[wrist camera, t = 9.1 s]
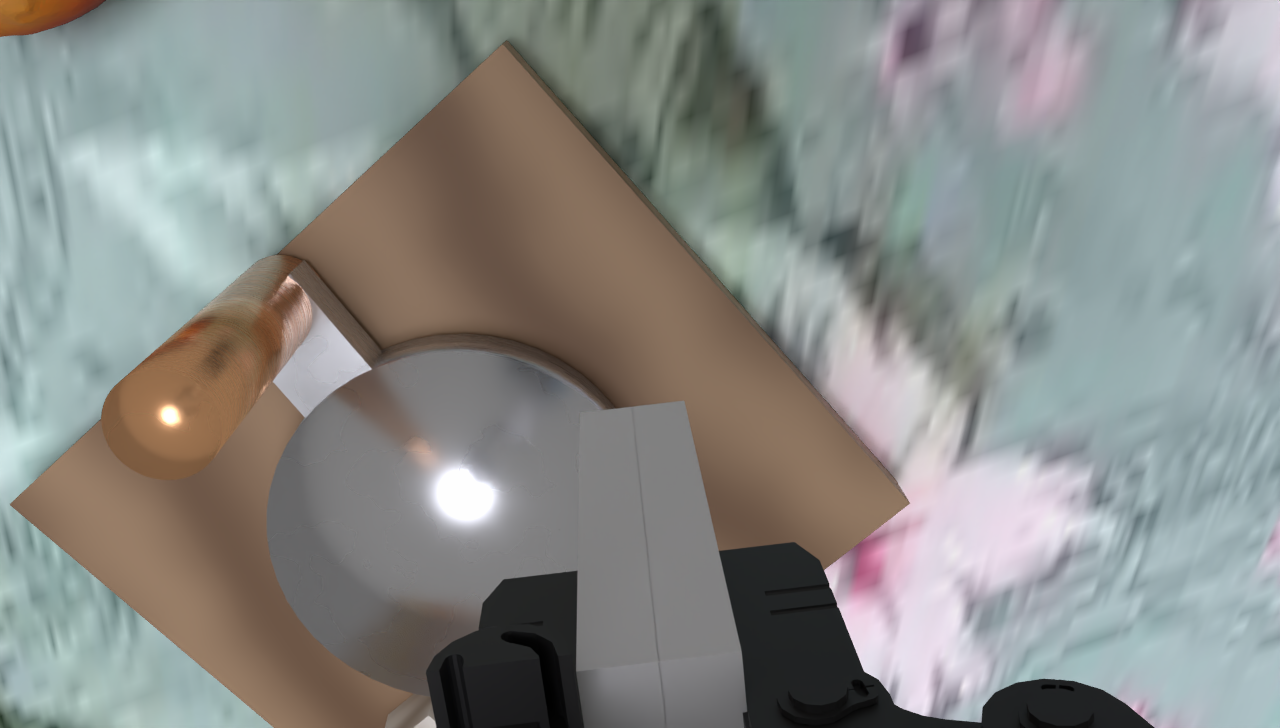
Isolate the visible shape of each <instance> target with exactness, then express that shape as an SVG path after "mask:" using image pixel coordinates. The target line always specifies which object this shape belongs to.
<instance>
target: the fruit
mask: <svg viewBox="0 0 1280 728" xmlns="http://www.w3.org/2000/svg"><path fill="white" fill-rule="evenodd" d="M104 1H106V0H0V37H2V36H12V35H29V34H34V33H38V32H41V31H44V30H48V29H51V28H54V27H57V26H60V25H63V24H66V23H68V22H70V21H72V20H75V19H77V18H79V17H81V16H83V15H84V14H86V13H88V12H89V11H91V10H93V9H95V8H96V7H98V6H99V5H101V4H102V3H103V2H104Z"/></svg>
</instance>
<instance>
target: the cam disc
mask: <svg viewBox="0 0 1280 728" xmlns="http://www.w3.org/2000/svg"><path fill="white" fill-rule="evenodd" d="M272 382H274V384H275V385H276V386H277V387H278V388H279V389H280V390H281V391H282V393H283V394H284V395H285V396H286V397H287V398H288V399H289V400H290V402H291V403H292V404H293V405H294V406H295V407H296V408H297V409H298V410H299V412H300V413H301V414H302V415H303V416H304V418H303V420H302V421H301V423H300V425H299V426H298V428H297V429H296V431H295V433H294V434H293V436H292V437H291V439H290V440H289V442H288V444H287V445H286V447H285V449H284V451H283V454H282V456H281V458H280V460H279V462H278V464H277V466H276V470H275V473H274V476H273V480H272V483H271V487H270V491H269V498H268V505H267V539H268V546H269V552H270V558H271V561H272V564H273V568H274V571H275V574H276V578H277V580H278V582H279V585H280V587H281V589H282V591H283V593H284V595H285V597H286V600H287V601H288V603H289V604H290V606H291V608H292V609H293V611H294V612H295V614H296V615H297V617H298V618H299V620H300V621H301V622H302V623H303V625H304V626H305V627H306V628H307V629H308V631H309V632H310V633H311V634H312V635H313V637H314V638H315V639H316V640H318V641H319V642H320V643H321V644H322V645H323V646H324V647H325V648H326V649H327V650H328V651H329V652H331V653H332V654H333V655H334V656H336V657H337V658H339V659H340V660H341V661H343V662H344V663H346V664H347V665H348V666H350V667H351V668H353V669H355V670H357V671H358V672H360V673H362V674H364V675H366V676H367V677H369V678H371V679H373V680H376V681H378V682H381V683H383V684H385V685H388V686H390V687H393V688H396V689H399V690H403V691H406V692H410V693H413V694H417V695H423V696H429V697H430V692H429V687H428V681H427V676H426V670H427V669H428V667H429V665H430V663H431V661H432V660H433V658H434V656H435V655H436V654H438V653H439V652H440V651H441V650H443V649H444V648H445V647H446V646H448V645H449V644H450V643H451V642H453V641H455V640H457V639H459V638H461V637H464V636H466V635H468V634H470V633H473V632H475V631H478V630H479V629H478V628H479V622H480V616H481V610H482V604H483V602H484V601H485V600H486V599H487V598H488V596H489V595H490V594H491V593H492V592H493V591H494V590H495V588H496V587H497V586H498V585H499V584H500V583H501V582H502V580H503V579H511V578H519V577H527V576H536V575H544V574H553V573H561V572H570V571H578V509H579V441H580V413H583V412H591V411H600V410H608V409H615V407H614V406H613V404H612V403H611V402H610V401H609V400H608V399H607V398H606V397H605V396H604V395H603V393H602V392H601V391H600V390H599V389H598V388H597V387H596V386H595V385H594V384H592V383H591V382H590V381H589V380H588V379H586V378H585V377H584V376H583V375H582V374H581V373H579V372H578V371H576V370H575V369H573V368H572V367H570V366H569V365H567V364H565V363H564V362H562V361H561V360H559V359H557V358H555V357H553V356H551V355H549V354H547V353H545V352H543V351H541V350H539V349H537V348H534V347H531V346H528V345H525V344H522V343H519V342H516V341H513V340H508V339H503V338H498V337H493V336H488V335H474V334H447V335H435V336H429V337H424V338H418V339H413V340H410V341H406V342H403V343H400V344H397V345H394V346H390V347H388V348H386V349H384V350H382V351H381V350H380V348H379V347H378V346H377V345H376V344H375V342H374V341H373V340H372V339H371V338H370V337H369V335H368V334H367V333H366V332H365V331H364V330H363V328H362V327H361V326H360V325H359V324H358V322H357V321H356V320H355V319H354V318H353V317H352V315H351V314H350V313H349V312H348V311H347V310H346V308H345V307H344V306H343V305H342V304H341V303H340V301H339V300H338V299H337V298H336V297H335V295H334V294H333V293H332V292H331V291H330V290H329V288H328V287H327V286H326V285H325V284H324V283H323V281H322V280H321V279H320V277H319V276H318V274H317V273H316V272H315V271H314V269H313V268H312V267H310V266H309V265H308V264H307V263H306V261H305V260H303V261H301V260H299V259H297V258H294V257H291V256H286V255H274V256H269V257H266V258H263V259H261V260H259V261H258V262H256V263H255V264H253V265H252V266H251V267H250V268H249V269H248V270H247V271H245V272H244V273H243V274H242V275H241V276H240V277H239V278H237V279H236V280H235V281H234V282H233V283H232V284H231V285H229V286H228V287H227V288H226V289H225V290H224V291H223V292H221V293H220V294H219V295H218V296H217V297H216V298H215V299H213V300H212V301H211V302H210V303H209V304H208V305H207V306H205V307H204V308H203V309H202V310H201V311H200V312H199V313H198V314H196V315H195V316H194V317H193V318H192V319H191V320H190V321H188V322H187V323H186V324H185V325H184V326H183V327H182V328H180V329H179V330H178V331H177V332H176V333H175V334H174V335H172V336H171V337H170V338H169V339H168V340H167V341H166V342H164V343H163V344H162V345H161V346H160V347H159V348H158V349H156V350H155V351H154V352H153V353H152V354H151V355H150V356H148V357H147V358H146V359H145V360H144V361H143V362H142V363H140V364H139V365H138V366H137V367H136V368H135V369H134V370H132V371H131V372H130V373H129V374H128V375H127V376H126V377H124V378H123V379H122V380H121V381H120V382H119V383H118V384H117V385H115V386H114V388H113V389H112V390H111V391H110V393H109V394H108V396H107V398H106V400H105V402H104V405H103V409H102V416H101V422H102V430H103V434H104V437H105V440H106V442H107V444H108V446H109V447H110V449H111V450H112V452H113V453H114V455H115V456H116V457H117V458H118V459H119V460H120V461H121V462H122V463H123V464H124V465H126V466H127V467H129V468H130V469H131V470H133V471H135V472H137V473H139V474H141V475H144V476H146V477H150V478H153V479H159V480H177V479H183V478H186V477H189V476H192V475H194V474H196V473H198V472H199V471H201V470H203V469H204V468H205V467H206V466H207V465H208V464H209V463H210V462H211V461H212V460H213V458H214V457H215V456H216V455H217V453H218V452H219V451H220V449H221V448H222V447H223V445H224V444H225V443H226V442H227V440H228V439H229V438H230V436H231V435H232V434H233V432H234V431H235V430H236V429H237V427H238V426H239V425H240V423H241V422H242V421H243V419H244V418H245V417H246V415H247V414H248V413H249V412H250V410H251V409H252V408H253V406H254V405H255V404H256V402H257V401H258V400H259V399H260V397H261V396H262V395H263V393H264V392H265V391H266V389H267V388H268V387H269V386H270V384H271V383H272Z"/></svg>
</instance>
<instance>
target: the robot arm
mask: <svg viewBox="0 0 1280 728" xmlns="http://www.w3.org/2000/svg"><path fill="white" fill-rule="evenodd" d="M478 629H479V630H478V631H475V632H473V633H470V634H468V635H466V636H464V637H461V638H459V639H457V640H455V641H453V642H451V643H450V644H449V645H448V646H446V647H445V648H444V649H443V650H441V651H440V652H439V653H438V654H436V655H435V656H434V658H433V660H432V661H431V663H430V665H429V667H428V669H427V670H426V676H427V681H428V687H429V692H430V697H431V702H432V707H433V712H434V718H435V723H436V728H1154V727H1153V726H1152V725H1151V724H1149V723H1148V722H1147V721H1146V720H1144V719H1143V718H1142V717H1141V716H1140V715H1138V714H1137V713H1136V712H1135V711H1134V710H1132V709H1131V708H1130V707H1129V706H1128V705H1126V704H1125V703H1123V702H1122V701H1120V700H1118V699H1117V698H1115V697H1113V696H1112V695H1110V694H1108V693H1107V692H1105V691H1103V690H1101V689H1098V688H1095V687H1091V686H1088V685H1085V684H1081V683H1078V682H1075V681H1066V680H1055V679H1039V680H1032V681H1025V682H1018V683H1015V684H1013V685H1011V686H1008V687H1006V688H1004V689H1002V690H1000V691H998V692H995V693H994V695H993V696H992V697H991V698H990V699H989V700H988V702H987V703H986V704H985V705H984V706H983V711H982V723H978V722H967V721H956V720H945V719H939V718H933V717H927V716H922V715H919V714H916V713H913V712H910V711H907V710H904V709H902V708H900V707H898V706H896V705H894V703H893V701H892V698H891V696H890V694H889V693H888V691H887V690H886V689H885V688H884V686H883V685H882V684H881V682H880V681H879V680H878V679H876V678H874V677H873V676H871V675H869V674H867V673H865V672H864V671H863V668H862V666H861V663H860V661H859V658H858V655H857V653H856V650H855V648H854V645H853V643H852V640H851V638H850V635H849V633H848V630H847V628H846V625H845V623H844V620H843V618H842V615H841V613H840V610H839V608H837V603H836V600H835V598H834V595H833V592H832V590H831V588H830V587H829V582H828V580H827V577H826V575H825V572H824V570H823V567H822V565H821V562H820V560H819V559H817V558H816V557H815V556H813V555H812V554H810V553H809V552H808V551H806V550H805V549H804V548H802V547H801V546H799V545H798V544H797V543H795V542H790V543H781V544H773V545H764V546H756V547H747V548H739V549H730V550H722V551H719V550H718V546H717V542H716V537H715V533H714V528H713V524H712V520H711V515H710V511H709V507H708V502H707V498H706V493H705V489H704V485H703V480H702V476H701V472H700V467H699V463H698V458H697V454H696V450H695V445H694V441H693V437H692V432H691V428H690V423H689V419H688V415H687V410H686V406H685V402H684V401H677V402H668V403H660V404H651V405H643V406H634V407H625V408H617V409H608V410H600V411H591V412H583V413H580V441H579V509H578V571H570V572H561V573H553V574H544V575H536V576H527V577H519V578H511V579H503V580H502V582H501V583H500V584H499V585H498V586H497V587H496V588H495V590H494V591H493V592H492V593H491V594H490V595H489V596H488V598H487V599H486V600H485V601H484V602H483V604H482V610H481V616H480V622H479V628H478Z"/></svg>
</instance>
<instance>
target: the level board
mask: <svg viewBox="0 0 1280 728" xmlns="http://www.w3.org/2000/svg"><path fill="white" fill-rule="evenodd" d="M277 255H286V256H291V257H294V258H297V259H299V260H301V261H303V260H305V261H306V263H307V264H308V265H309V266H310V267H312V268H313V269H314V271H315V272H316V273H317V274H318V276H319V277H320V279H321V280H322V281H323V283H324V284H325V285H326V286H327V287H328V288H329V290H330V291H331V292H332V293H333V294H334V295H335V297H336V298H337V299H338V300H339V301H340V303H341V304H342V305H343V306H344V307H345V308H346V310H347V311H348V312H349V313H350V314H351V315H352V317H353V318H354V319H355V320H356V321H357V322H358V324H359V325H360V326H361V327H362V328H363V330H364V331H365V332H366V333H367V334H368V335H369V337H370V338H371V339H372V340H373V341H374V342H375V344H376V345H377V346H378V347H379V348H380V350H381V351H382V350H384V349H386V348H388V347H390V346H394V345H397V344H400V343H403V342H406V341H410V340H413V339H418V338H424V337H429V336H435V335H447V334H474V335H488V336H493V337H498V338H503V339H508V340H513V341H516V342H519V343H522V344H525V345H528V346H531V347H534V348H537V349H539V350H541V351H543V352H545V353H547V354H549V355H551V356H553V357H555V358H557V359H559V360H561V361H562V362H564V363H565V364H567V365H569V366H570V367H572V368H573V369H575V370H576V371H578V372H579V373H581V374H582V375H583V376H584V377H585V378H586V379H588V380H589V381H590V382H591V383H592V384H594V385H595V386H596V387H597V388H598V389H599V390H600V391H601V392H602V393H603V395H604V396H605V397H606V398H607V399H608V400H609V401H610V402H611V403H612V404H613V406H614V407H615V409H617V408H625V407H634V406H643V405H651V404H660V403H668V402H677V401H684V402H685V406H686V410H687V415H688V419H689V423H690V428H691V432H692V437H693V441H694V445H695V450H696V454H697V458H698V463H699V467H700V472H701V476H702V480H703V485H704V489H705V493H706V498H707V502H708V507H709V511H710V515H711V520H712V524H713V528H714V533H715V537H716V542H717V546H718V550H719V551H722V550H730V549H739V548H747V547H756V546H764V545H773V544H781V543H790V542H795V543H797V544H798V545H799V546H801V547H802V548H804V549H805V550H806V551H808V552H809V553H810V554H812V555H813V556H815V557H816V558H817V559H819V560H820V562H821V565H822V567H823V570H825V569H826V568H827V567H829V566H830V565H831V564H832V563H834V562H835V561H836V560H838V559H839V558H840V557H841V556H843V555H844V554H845V553H847V552H848V551H849V550H851V549H852V548H853V547H854V546H856V545H857V544H858V543H860V542H861V541H862V540H863V539H865V538H866V537H867V536H869V535H870V534H871V533H872V532H874V531H875V530H876V529H878V528H879V527H880V526H881V525H883V524H884V523H885V522H887V521H888V520H889V519H890V518H892V517H893V516H894V515H896V514H897V513H898V512H899V511H901V510H902V509H903V508H905V507H906V506H907V505H908V504H910V503H909V501H908V499H907V498H906V496H905V494H904V493H903V491H902V490H901V488H900V486H899V485H898V483H897V481H896V480H895V478H894V477H893V476H892V475H891V474H890V473H889V472H888V471H887V469H886V468H885V467H884V466H883V465H882V464H881V463H880V461H879V460H878V459H877V458H876V457H875V456H874V455H873V454H872V452H871V451H870V450H869V449H868V448H867V447H866V446H865V445H864V443H863V442H862V441H861V440H860V439H859V438H858V437H857V435H856V434H855V433H854V432H853V431H852V430H851V429H850V428H849V426H848V425H847V424H846V423H845V422H844V421H843V420H842V419H841V417H840V416H839V415H838V414H837V413H836V412H835V411H834V409H833V408H832V407H831V406H830V405H829V404H828V403H827V402H826V400H825V399H824V398H823V397H822V396H821V395H820V394H819V393H818V391H817V390H816V389H815V388H814V387H813V386H812V385H811V384H810V382H809V381H808V380H807V379H806V378H805V377H804V376H803V374H802V373H801V372H800V371H799V370H798V369H797V368H796V367H795V365H794V364H793V363H792V362H791V361H790V360H789V359H788V358H787V356H786V355H785V354H784V353H783V352H782V351H781V350H780V348H779V347H778V346H777V345H776V344H775V343H774V342H773V341H772V339H771V338H770V337H769V336H768V335H767V334H766V333H765V332H764V330H763V329H762V328H761V327H760V326H759V325H758V324H757V322H756V321H755V320H754V319H753V318H752V317H751V316H750V315H749V313H748V312H747V311H746V310H745V309H744V308H743V307H742V306H741V304H740V303H739V302H738V301H737V300H736V299H735V298H734V296H733V295H732V294H731V293H730V292H729V291H728V290H727V289H726V287H725V286H724V285H723V284H722V283H721V282H720V281H719V280H718V278H717V277H716V276H715V275H714V274H713V273H712V272H711V270H710V269H709V268H708V267H707V266H706V265H705V264H704V263H703V261H702V260H701V259H700V258H699V257H698V256H697V255H696V254H695V252H694V251H693V250H692V249H691V248H690V247H689V246H688V244H687V243H686V242H685V241H684V240H683V239H682V238H681V237H680V235H679V234H678V233H677V232H676V231H675V230H674V229H673V228H672V226H671V225H670V224H669V223H668V222H667V221H666V220H665V218H664V217H663V216H662V215H661V214H660V213H659V212H658V211H657V209H656V208H655V207H654V206H653V205H652V204H651V203H650V202H649V200H648V199H647V198H646V197H645V196H644V195H643V194H642V192H641V191H640V190H639V189H638V188H637V187H636V186H635V185H634V183H633V182H632V181H631V180H630V179H629V178H628V177H627V176H626V174H625V173H624V172H623V171H622V170H621V169H620V168H619V166H618V165H617V164H616V163H615V162H614V161H613V160H612V159H611V157H610V156H609V155H608V154H607V153H606V152H605V151H604V150H603V148H602V147H601V146H600V145H599V144H598V143H597V142H596V140H595V139H594V138H593V137H592V136H591V135H590V134H589V133H588V131H587V130H586V129H585V128H584V127H583V126H582V125H581V124H580V122H579V121H578V120H577V119H576V118H575V117H574V116H573V114H572V113H571V112H570V111H569V110H568V109H567V108H566V107H565V105H564V104H563V103H562V102H561V101H560V100H559V99H558V98H557V96H556V95H555V94H554V93H553V92H552V91H551V90H550V88H549V87H548V86H547V85H546V84H545V83H544V82H543V81H542V79H541V78H540V77H539V76H538V75H537V74H536V73H535V72H534V70H533V69H532V68H531V67H530V66H529V65H528V64H527V62H526V61H525V60H524V59H523V58H522V57H521V56H520V55H519V53H518V52H517V51H516V50H515V49H514V48H513V47H512V46H511V44H510V43H509V42H508V41H507V40H506V41H505V42H504V43H503V44H502V45H501V46H500V47H499V48H498V49H496V50H495V51H494V52H493V53H492V54H491V55H490V56H489V57H488V58H487V59H486V60H485V61H484V62H483V63H482V64H480V65H479V66H478V67H477V68H476V69H475V70H474V71H473V72H472V73H471V74H470V75H469V76H468V77H467V78H465V79H464V80H463V81H462V82H461V83H460V84H459V85H458V86H457V87H456V88H455V89H454V90H453V91H452V92H450V93H449V94H448V95H447V96H446V97H445V98H444V99H443V100H442V101H441V102H440V103H439V104H438V105H437V106H435V107H434V108H433V109H432V110H431V111H430V112H429V113H428V114H427V115H426V116H425V117H424V118H423V119H422V120H421V121H419V122H418V123H417V124H416V125H415V126H414V127H413V128H412V129H411V130H410V131H409V132H408V133H407V134H406V135H404V136H403V137H402V138H401V139H400V140H399V141H398V142H397V143H396V144H395V145H394V146H393V147H392V148H391V149H389V150H388V151H387V152H386V153H385V154H384V155H383V156H382V157H381V158H380V159H379V160H378V161H377V162H376V163H375V164H373V165H372V166H371V167H370V168H369V169H368V170H367V171H366V172H365V173H364V174H363V175H362V176H361V177H360V178H358V179H357V180H356V181H355V182H354V183H353V184H352V185H351V186H350V187H349V188H348V189H347V190H346V191H345V192H343V193H342V194H341V195H340V196H339V197H338V198H337V199H336V200H335V201H334V202H333V203H332V204H331V205H330V206H328V207H327V208H326V209H325V210H324V211H323V212H322V213H321V214H320V215H319V216H318V217H317V218H316V219H315V220H314V221H312V222H311V223H310V224H309V225H308V226H307V227H306V228H305V229H304V230H303V231H302V232H301V233H300V234H299V235H297V236H296V237H295V238H294V239H293V240H292V241H291V242H290V243H289V244H288V245H287V246H286V247H285V248H284V249H282V250H281V251H280V252H279V253H278V254H277ZM303 418H304V416H303V415H302V414H301V413H300V412H299V410H298V409H297V408H296V407H295V406H294V405H293V404H292V403H291V402H290V400H289V399H288V398H287V397H286V396H285V395H284V394H283V393H282V391H281V390H280V389H279V388H278V387H277V386H276V385H275V384H274V382H272V383H271V384H270V386H269V387H268V388H267V389H266V391H265V392H264V393H263V395H262V396H261V397H260V399H259V400H258V401H257V402H256V404H255V405H254V406H253V408H252V409H251V410H250V412H249V413H248V414H247V415H246V417H245V418H244V419H243V421H242V422H241V423H240V425H239V426H238V427H237V429H236V430H235V431H234V432H233V434H232V435H231V436H230V438H229V439H228V440H227V442H226V443H225V444H224V445H223V447H222V448H221V449H220V451H219V452H218V453H217V455H216V456H215V457H214V458H213V460H212V461H211V462H210V463H209V464H208V465H207V466H206V467H205V468H204V469H203V470H201V471H199V472H198V473H196V474H194V475H192V476H189V477H186V478H183V479H177V480H159V479H153V478H150V477H146V476H144V475H141V474H139V473H137V472H135V471H133V470H131V469H130V468H129V467H127V466H126V465H124V464H123V463H122V462H121V461H120V460H119V459H118V458H117V457H116V456H115V455H114V453H113V452H112V450H111V449H110V447H109V446H108V444H107V442H106V440H105V437H104V434H103V430H102V422H101V420H100V421H98V422H97V423H96V424H95V425H94V426H93V427H92V428H91V429H90V430H89V431H88V432H87V433H86V434H85V435H83V436H82V437H81V438H80V439H79V440H78V441H77V442H76V443H75V444H74V445H73V446H72V447H71V448H70V449H68V450H67V451H66V452H65V453H64V454H63V455H62V456H61V457H60V458H59V459H58V460H57V461H56V462H55V463H54V464H52V465H51V466H50V467H49V468H48V469H47V470H46V471H45V472H44V473H43V474H42V475H41V476H40V477H39V478H37V479H36V480H35V481H34V482H33V483H32V484H31V485H30V486H29V487H28V488H27V489H26V490H25V491H24V492H22V493H21V494H20V495H19V496H18V497H17V498H16V499H15V500H14V501H13V502H12V503H11V504H10V505H11V506H12V507H13V508H14V509H15V510H17V511H18V512H19V513H20V514H21V515H22V516H24V517H25V518H26V519H27V520H28V521H30V522H31V523H32V524H33V525H34V526H35V527H37V528H38V529H39V530H40V531H41V532H43V533H44V534H45V535H46V536H47V537H49V538H50V539H51V540H52V541H53V542H54V543H56V544H57V545H58V546H59V547H60V548H62V549H63V550H64V551H65V552H66V553H68V554H69V555H70V556H71V557H72V558H73V559H75V560H76V561H77V562H78V563H79V564H81V565H82V566H83V567H84V568H85V569H86V570H88V571H89V572H90V573H91V574H92V575H94V576H95V577H96V578H97V579H98V580H100V581H101V582H102V583H103V584H104V585H105V586H107V587H108V588H109V589H110V590H111V591H113V592H114V593H115V594H116V595H117V596H118V597H120V598H121V599H122V600H123V601H124V602H126V603H127V604H128V605H129V606H130V607H132V608H133V609H134V610H135V611H136V612H137V613H139V614H140V615H141V616H142V617H143V618H145V619H146V620H147V621H148V622H149V623H150V624H152V625H153V626H154V627H155V628H156V629H158V630H159V631H160V632H161V633H162V634H164V635H165V636H166V637H167V638H168V639H169V640H171V641H172V642H173V643H174V644H175V645H177V646H178V647H179V648H180V649H181V650H182V651H184V652H185V653H186V654H187V655H188V656H190V657H191V658H192V659H193V660H194V661H196V662H197V663H198V664H199V665H200V666H201V667H203V668H204V669H205V670H206V671H207V672H209V673H210V674H211V675H212V676H213V677H214V678H216V679H217V680H218V681H219V682H220V683H222V684H223V685H224V686H225V687H226V688H228V689H229V690H230V691H231V692H232V693H233V694H235V695H236V696H237V697H238V698H239V699H241V700H242V701H243V702H244V703H245V704H246V705H248V706H249V707H250V708H251V709H252V710H254V711H255V712H256V713H257V714H258V715H260V716H261V717H262V718H263V719H264V720H265V721H267V722H268V723H269V724H270V725H271V726H273V727H274V728H436V723H435V718H434V712H433V707H432V702H431V697H429V696H423V695H417V694H413V693H410V692H406V691H403V690H399V689H396V688H393V687H390V686H388V685H385V684H383V683H381V682H378V681H376V680H373V679H371V678H369V677H367V676H366V675H364V674H362V673H360V672H358V671H357V670H355V669H353V668H351V667H350V666H348V665H347V664H346V663H344V662H343V661H341V660H340V659H339V658H337V657H336V656H334V655H333V654H332V653H331V652H329V651H328V650H327V649H326V648H325V647H324V646H323V645H322V644H321V643H320V642H319V641H318V640H316V639H315V638H314V637H313V635H312V634H311V633H310V632H309V631H308V629H307V628H306V627H305V626H304V625H303V623H302V622H301V621H300V620H299V618H298V617H297V615H296V614H295V612H294V611H293V609H292V608H291V606H290V604H289V603H288V601H287V600H286V597H285V595H284V593H283V591H282V589H281V587H280V585H279V582H278V580H277V578H276V574H275V571H274V568H273V564H272V561H271V558H270V552H269V546H268V539H267V505H268V498H269V491H270V487H271V483H272V480H273V476H274V473H275V470H276V466H277V464H278V462H279V460H280V458H281V456H282V454H283V451H284V449H285V447H286V445H287V444H288V442H289V440H290V439H291V437H292V436H293V434H294V433H295V431H296V429H297V428H298V426H299V425H300V423H301V421H302V420H303Z"/></svg>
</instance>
